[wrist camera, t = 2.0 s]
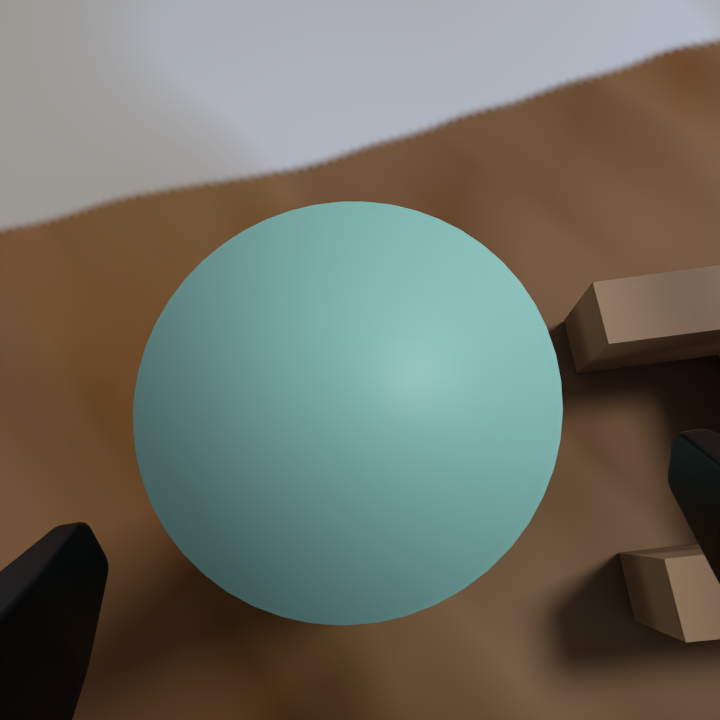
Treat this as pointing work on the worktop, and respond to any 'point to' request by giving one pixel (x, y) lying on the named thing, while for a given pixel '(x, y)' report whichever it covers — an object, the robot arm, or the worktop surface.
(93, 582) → the robot arm
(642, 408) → the worktop surface
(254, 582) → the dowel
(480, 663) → the worktop surface
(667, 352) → the block
